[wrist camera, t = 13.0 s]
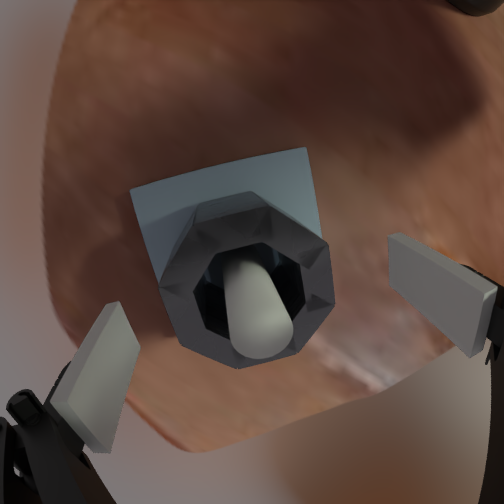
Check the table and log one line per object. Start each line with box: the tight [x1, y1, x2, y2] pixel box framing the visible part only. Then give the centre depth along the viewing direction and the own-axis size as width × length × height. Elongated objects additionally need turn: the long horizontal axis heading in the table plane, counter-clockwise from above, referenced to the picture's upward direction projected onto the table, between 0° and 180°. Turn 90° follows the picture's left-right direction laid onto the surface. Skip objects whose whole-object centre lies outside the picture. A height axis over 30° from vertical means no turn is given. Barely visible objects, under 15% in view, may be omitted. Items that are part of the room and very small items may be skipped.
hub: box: [158, 191, 335, 369], centre depth 16 cm, size 8×8×6 cm
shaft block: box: [129, 147, 322, 359], centre depth 16 cm, size 12×12×12 cm
